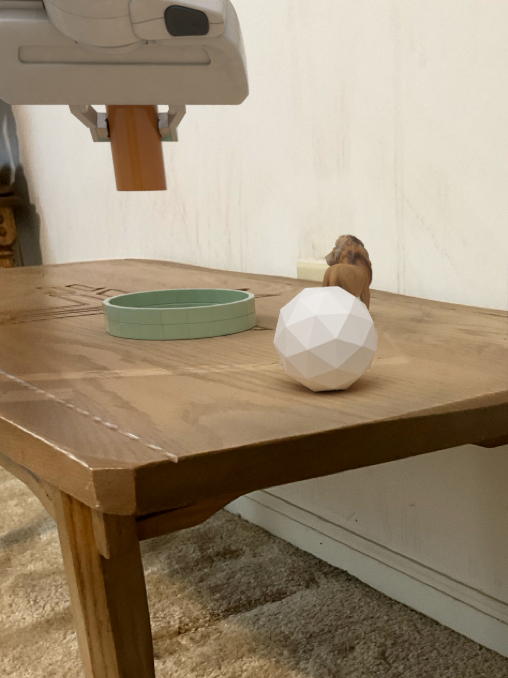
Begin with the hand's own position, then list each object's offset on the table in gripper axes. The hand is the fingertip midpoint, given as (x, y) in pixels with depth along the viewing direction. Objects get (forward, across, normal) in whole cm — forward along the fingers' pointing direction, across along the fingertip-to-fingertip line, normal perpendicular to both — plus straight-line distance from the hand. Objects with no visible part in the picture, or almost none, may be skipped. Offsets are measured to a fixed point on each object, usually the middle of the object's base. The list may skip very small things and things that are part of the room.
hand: (137, 136), depth 75 cm
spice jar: (+3, 0, -4) cm, 4 cm away
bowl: (+18, +1, -8) cm, 20 cm away
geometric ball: (-2, +14, -28) cm, 31 cm away
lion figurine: (+18, +18, -8) cm, 27 cm away
